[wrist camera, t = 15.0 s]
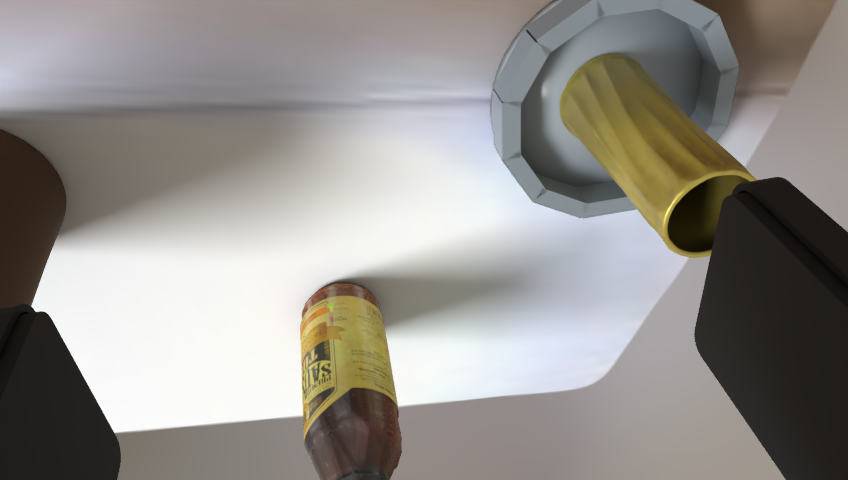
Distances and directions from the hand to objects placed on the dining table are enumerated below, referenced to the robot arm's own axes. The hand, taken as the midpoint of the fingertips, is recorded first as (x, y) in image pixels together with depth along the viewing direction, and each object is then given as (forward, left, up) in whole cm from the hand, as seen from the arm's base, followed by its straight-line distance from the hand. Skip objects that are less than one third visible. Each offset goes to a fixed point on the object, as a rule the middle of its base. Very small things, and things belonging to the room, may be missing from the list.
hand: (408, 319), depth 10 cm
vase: (+14, +17, -33) cm, 39 cm away
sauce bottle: (+29, -3, -34) cm, 44 cm away
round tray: (+14, +17, -33) cm, 40 cm away
